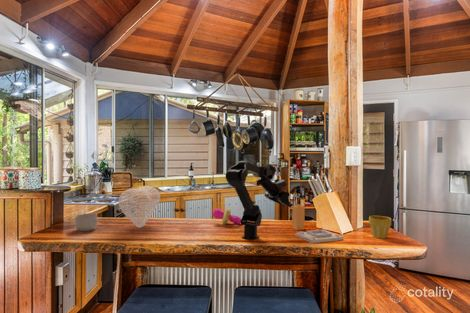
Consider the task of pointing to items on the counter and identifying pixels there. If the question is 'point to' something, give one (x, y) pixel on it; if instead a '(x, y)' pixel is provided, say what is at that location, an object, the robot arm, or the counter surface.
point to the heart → (130, 216)
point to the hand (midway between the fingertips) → (286, 205)
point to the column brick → (298, 217)
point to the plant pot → (379, 226)
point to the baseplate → (318, 236)
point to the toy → (226, 216)
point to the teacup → (86, 221)
